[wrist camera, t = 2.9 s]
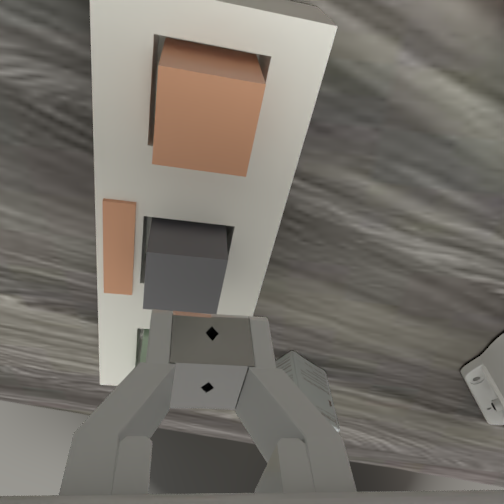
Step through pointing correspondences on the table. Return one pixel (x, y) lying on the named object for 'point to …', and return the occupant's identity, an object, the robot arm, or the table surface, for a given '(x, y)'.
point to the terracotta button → (206, 107)
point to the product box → (310, 383)
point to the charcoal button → (185, 266)
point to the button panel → (186, 180)
